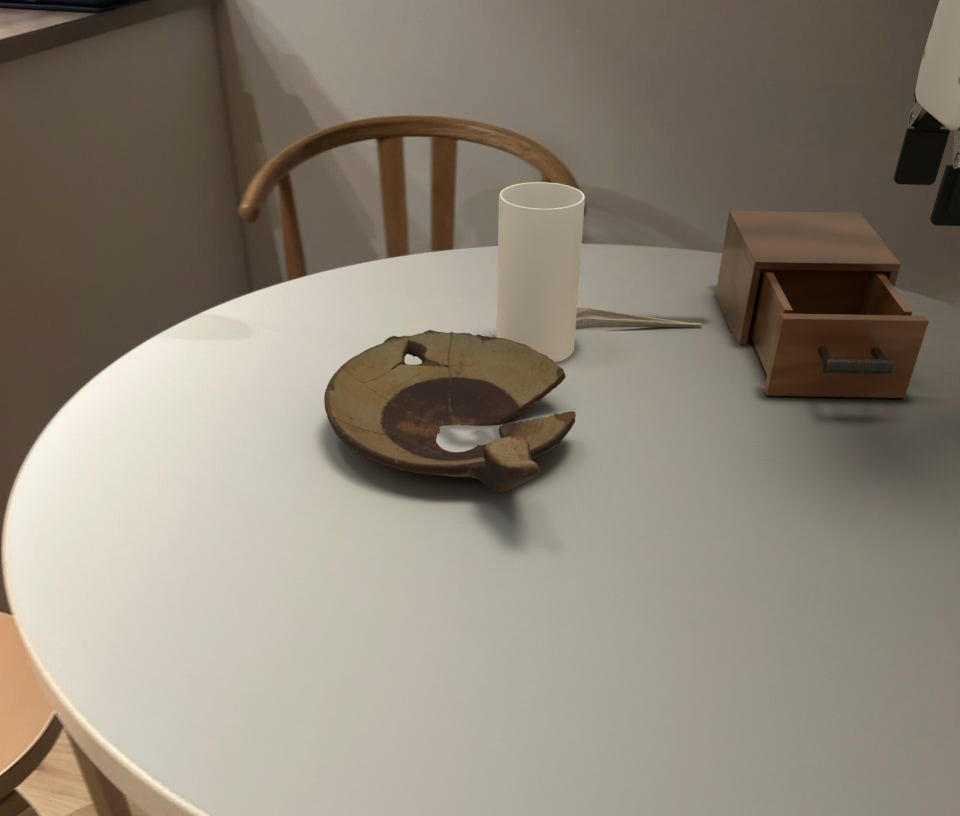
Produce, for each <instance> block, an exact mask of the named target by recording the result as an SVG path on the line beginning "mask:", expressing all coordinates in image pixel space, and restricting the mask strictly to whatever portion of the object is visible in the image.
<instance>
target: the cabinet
mask: <svg viewBox="0 0 960 816" xmlns="http://www.w3.org/2000/svg"><path fill="white" fill-rule="evenodd" d="M720 258H721V259H720V265H719V271H718V277H717V283H716V288H715V289H716V290H715V297H716V299H717V301H718V304H719V307H720V309H721V312H722V314H723V317H724V319H725V322H726V324H727V327H728V330H729V332H730V334H734V336H735V339H736V341H737V344H738V346H743V347H745V346H746V347H755V346H754V344H753V341H752V339H751V337H750V334H749V330H750V325H751V320H752V315H753V309H754V304H755V299H756V294H757V289H758V284H759V278H760V273H761V269H767V270H829V271H882V272H883V273H884V274H885V276H886V277H887V278H888V280H889V281H890V282H891V284H892V285H893V286H894V288H896V287H895V286H896V283H897V280H898V276H899V271H900V269H901V265H902V264H901V262H900V261H899V260H898V258H897V257H896V256H895V255H894V254H893V252H892V251H891V250H890V248H888V246H887V245H886V244H885V242H884V240H882V239H881V237H880V236H879V235H878V233H877V231H875V230H874V228H873V227H872V226H871V225H870V223H869V222H868V221H867V220H866V219H865V217H864V216H863V215H862V213H861V212H846V211H843V212H842V211H841V212H840V211H785V210H784V211H782V210H781V211H780V210H779V211H777V210H729V211H728V217H727V223H726V229H725V235H724V241H723V248H722V254H721V257H720Z"/></svg>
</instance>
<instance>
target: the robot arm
mask: <svg viewBox="0 0 960 816" xmlns="http://www.w3.org/2000/svg"><path fill="white" fill-rule="evenodd" d="M916 79H917V80H916V84H915V89H914V92H913V97H914V105H913V106H912V109H911V111H910V112H909V115H908V117H907V128H906V130H905V134H904V136H903V140H902V144H901V149H900V152H899V156H898V160H897V163H896V168H895V171H894V175H893V181H894V182H895V183H896V185H909V186H910V185H913V186H931V185H933V184H935V182H936V180H937V177H938V174H939V170H940V167H941V165H942V164H941V163H942V160H943V157H944V154H945V150H946V147H947V143H948V140H949V136H950V133H951V131H952V132H953V144H952V145H953V146H952V147H953V149H952V164H945V168H944V171H943V174H942V177H941V180H940V184H939V188H938V190H937V194H936V197H935V200H934V204H933V208H932V211H931V214H930V217H929V221H930V222H931V224H932V225H934V226H936V227H937V226H940V227H960V0H939V1H938V4H937V7H936V9H935V13H934V17H933V20H932V23H931V26H930V30H929V33H928V36H927V40H926V43H925V47H924V51H923V53H922V58H921V62H920V65H919V69H918V75H917V78H916Z"/></svg>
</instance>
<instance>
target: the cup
mask: <svg viewBox="0 0 960 816" xmlns="http://www.w3.org/2000/svg"><path fill="white" fill-rule="evenodd" d="M585 204H586V196H585V194H584V192H583V191H581V190H580V189H578V188H576V187H574V186H571V185H567V184H562V183H557V182H547V181H545V182H544V181H536V182H535V181H531V182H522V183H517V184H513V185H509V186H507V187H504V188H503V189H502V190H501V191H500V192H499V195H498V225H497V226H498V227H497V229H498V230H497V231H498V232H497V275H496V276H497V277H496V279H497V280H496V281H497V282H496V326H495V327H496V330H495V331H496V332H495V337H498V338H504V339H508V340H511V341H515V342H519V343H521V344H524V345H527V346H529V347H530V348H532V349H534V350H536V351H537V352H539V353H541V354H544V355H547V356H548V357H549V358H550V359H552V360H553V361H554V362H555V363H558V362H561V361H564V360H566V359H568V358H569V357H570V356H571V355H572V354H573V353H574V350H575V340H576V329H575V327H576V314H577V307H578V300H579V299H578V298H579V286H580V285H579V284H580V272H581V259H582V258H581V257H582V246H583V231H584V218H585Z"/></svg>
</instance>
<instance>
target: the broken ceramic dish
mask: <svg viewBox="0 0 960 816" xmlns="http://www.w3.org/2000/svg"><path fill="white" fill-rule="evenodd" d="M407 355H409V356H412V357H413V358H414V357H415V358H418V359H419V360H420V361H421V362H420V363H418V364H417V363H416V364H409V363H408V364H407V363H406V360H405V358H406V356H407ZM565 379H566V373H565V371H564V368H562V367H561V366H560V365H558V364H556V362H554V361H553V360H552V359H550V358H549V357H548V356H547V355H544V354H541V353H539V352H537V351H536V350H534V349H532V348H530V347H529V346H527V345H524V344H521V343H519V342H515V341H511V340H508V339H504V338H498V337H496V336H488V335H481V334H472V333H471V332H453V331H450V332H445V331H438V330H437V331H436V330H432V329H428V330H425V331H424V332H420V333H416V334H412V335H402V336H396V335H392V336H389V337H387V338H386V339H385V340H384V341H383V342H381V343H379V344H375V345H374V346H372V347H371V346H370V347H369V348H367V349H364V350H363V351H361V352H360V353H358V354H357V355H354V356H353V357H350V359H348V360H347V361H346V362H344V363H343V364H342V365H340V367H339V368H338V369H337V370H336V371H335V372H334V373H333V375H332V376H331V378H330V379H329V381H328V383H327V386H326V388H325V390H324V396H323V401H324V402H323V404H324V410H325V413H326V416H327V419H328V421H329V424H330V427H331V428H332V430H333V431H334V433H335V435H336V436H337V437H338V438H339V439H340V440H341V441H342V442H343V443H344V444H345V445H346V446H348V447H349V448H350V449H351V450H352V451H354V452H356V453H357V454H359V455H362V456H363V457H365V458H367V459H369V460H371V461H373V462H376V463H378V464H381V465H384V466H387V467H391V468H394V469H397V470H400V471H405V472H409V473H410V472H411V473H416V474H424V475H433V476H443V477H444V476H445V477H453V478H473V479H476V480H477V481H479V482H480V483H482V484H483V485H485V486H486V487H487V488H488V489H490V490H491V491H492V492H498V493H499V492H500V493H503V492H509V491H511V490H513V489H515V488H517V487H518V486H520V485H521V484H524V483H526V482H528V481H530V480H532V479H533V478H536V477H537V476H538V475H539V474H540V472H541V471H540V467H539V465H538V463H537V462H536V461H534V459H536V458H537V457H539V456H541V455H543V454H546V453H547V452H549V451H550V450H552V449H554V448H555V447H556V446H557V445H558V444H560V443H561V442H562V441H563V440H564V439H565V438H566V436H567V435H568V434H569V432H570V431H571V430H572V428H573V426H574V425H575V424H576V416H577V415H576V412H575V411H574V410H572V411H564V412H561V413H557V412H555V413H554V414H551V415H549V416H543V417H542V416H539V417H534V418H533V419H525V420H520V421H517V422H510V421H511V420H513V419H515V418H516V417H517V416H518V415H519V414H521V413H523V412H525V411H528V410H529V409H530V408H531V407H532V406H534V405H535V404H536V403H537V402H539V401H540V400H542V399H543V398H545V396H547V395H548V394H550V393H551V392H552V391H553V390H554V389H556V388H557V387H558V386H559V385H561V383H563V381H564V380H565ZM507 422H509V423H507ZM444 426H446V427H448V426H472V427H490V426H499V428H498V432H499V436H500V437H499V438H496V439H493V440H491V441H489V442H488V443H486V444H477V445H476V446H475V447H473V448H471V449H468V450H464V451H449V450H446V449H444V448H443V447H441V446H440V444H439V443H438V442H437V438H438V435H439V434H440V433H441V427H444Z"/></svg>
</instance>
